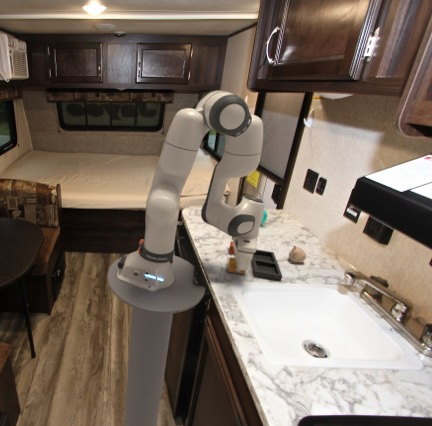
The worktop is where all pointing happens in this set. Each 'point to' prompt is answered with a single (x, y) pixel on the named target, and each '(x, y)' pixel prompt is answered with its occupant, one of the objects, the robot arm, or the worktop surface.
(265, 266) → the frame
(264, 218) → the turquoise spool
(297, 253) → the garlic bulb
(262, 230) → the worktop surface
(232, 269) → the yellow-orange rectangular block
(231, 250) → the orange-red rectangular block
